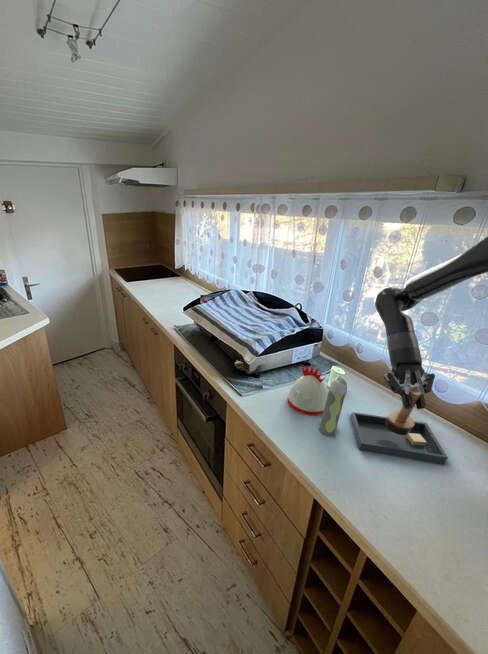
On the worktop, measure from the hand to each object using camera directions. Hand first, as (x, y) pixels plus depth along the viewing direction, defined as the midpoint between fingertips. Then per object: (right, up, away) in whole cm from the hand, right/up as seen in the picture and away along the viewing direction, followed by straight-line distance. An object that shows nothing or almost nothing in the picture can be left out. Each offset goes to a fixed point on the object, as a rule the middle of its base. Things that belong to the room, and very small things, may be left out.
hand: (414, 408), depth 85 cm
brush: (0, -7, +7) cm, 10 cm away
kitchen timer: (-20, -3, +26) cm, 33 cm away
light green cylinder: (-6, +2, +35) cm, 35 cm away
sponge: (-36, +11, +51) cm, 64 cm away
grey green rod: (-19, -10, +13) cm, 25 cm away
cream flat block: (+6, -11, +8) cm, 15 cm away
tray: (-1, -12, +9) cm, 14 cm away
